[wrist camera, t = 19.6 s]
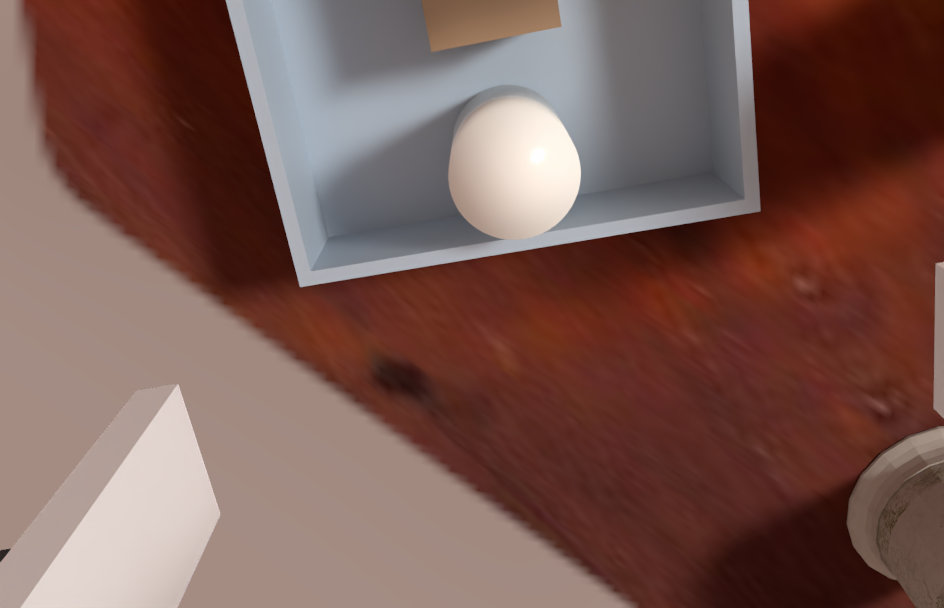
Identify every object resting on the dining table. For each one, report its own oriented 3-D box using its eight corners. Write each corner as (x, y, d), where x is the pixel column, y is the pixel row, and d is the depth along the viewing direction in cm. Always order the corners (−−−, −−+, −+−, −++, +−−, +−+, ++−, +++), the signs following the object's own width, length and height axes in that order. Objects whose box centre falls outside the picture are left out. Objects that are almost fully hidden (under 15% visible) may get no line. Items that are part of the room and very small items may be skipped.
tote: (237, -96, 37) (198, -106, 32) (697, -186, 36) (735, -211, 31) (321, 247, 42) (299, 287, 37) (724, 179, 41) (760, 211, 36)
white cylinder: (443, 95, 39) (437, 121, 33) (555, 75, 39) (571, 98, 32) (463, 203, 41) (460, 249, 35) (570, 185, 41) (588, 228, 34)
